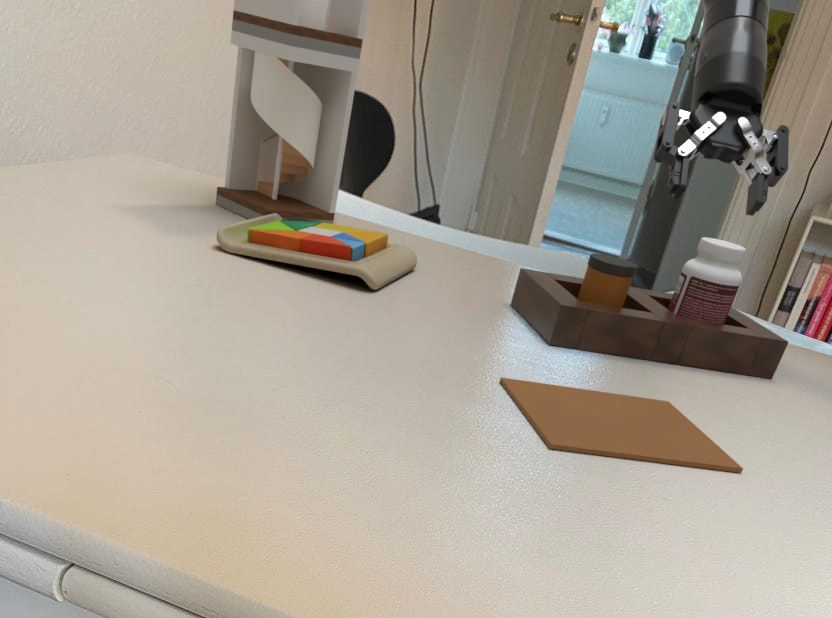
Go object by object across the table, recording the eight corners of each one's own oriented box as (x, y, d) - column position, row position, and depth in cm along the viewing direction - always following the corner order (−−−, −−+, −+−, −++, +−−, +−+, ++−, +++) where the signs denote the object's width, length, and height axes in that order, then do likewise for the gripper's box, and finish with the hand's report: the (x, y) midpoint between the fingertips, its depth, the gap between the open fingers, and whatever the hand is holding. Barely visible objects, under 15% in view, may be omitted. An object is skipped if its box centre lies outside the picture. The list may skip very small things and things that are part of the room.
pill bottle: (723, 358, 100) (766, 253, 94) (683, 357, 97) (725, 249, 91) (684, 339, 104) (723, 237, 98) (644, 337, 101) (682, 232, 95)
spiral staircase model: (215, 203, 118) (247, -142, 99) (280, 207, 125) (322, -117, 105) (266, 227, 112) (311, -137, 93) (332, 229, 119) (386, -110, 99)
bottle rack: (711, 336, 108) (725, 302, 106) (772, 379, 96) (789, 341, 94) (510, 304, 102) (520, 267, 100) (549, 345, 91) (561, 304, 89)
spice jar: (602, 329, 101) (626, 258, 96) (619, 343, 97) (645, 270, 92) (561, 322, 100) (583, 250, 95) (576, 337, 96) (600, 262, 91)
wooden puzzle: (275, 229, 112) (279, 199, 110) (418, 269, 109) (424, 238, 107) (210, 248, 98) (213, 213, 96) (372, 294, 94) (379, 259, 93)
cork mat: (666, 405, 81) (668, 401, 81) (741, 473, 70) (743, 468, 70) (499, 381, 78) (500, 377, 78) (549, 448, 67) (551, 443, 66)
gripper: (771, 115, 106) (760, 237, 103) (654, 89, 105) (639, 211, 102) (809, 64, 99) (797, 193, 96) (683, 35, 98) (668, 165, 95)
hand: (716, 202), depth 99 cm, fingers open, 8 cm apart
